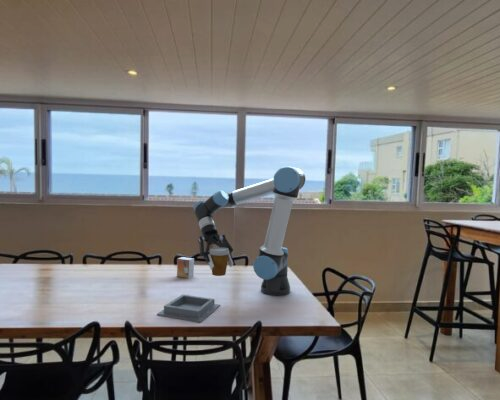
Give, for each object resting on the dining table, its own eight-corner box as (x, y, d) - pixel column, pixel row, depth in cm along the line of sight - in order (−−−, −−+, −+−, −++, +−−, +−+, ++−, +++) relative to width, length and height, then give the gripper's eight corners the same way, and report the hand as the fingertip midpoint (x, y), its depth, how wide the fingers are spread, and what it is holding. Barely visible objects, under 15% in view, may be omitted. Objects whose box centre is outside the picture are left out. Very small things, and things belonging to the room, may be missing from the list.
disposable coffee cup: (232, 273, 171) (233, 248, 170) (222, 278, 162) (223, 252, 161) (215, 270, 175) (215, 246, 174) (204, 275, 166) (205, 249, 165)
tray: (220, 305, 161) (220, 298, 161) (200, 322, 142) (200, 314, 142) (180, 299, 168) (180, 292, 167) (157, 315, 149) (157, 306, 148)
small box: (176, 276, 206) (177, 258, 205) (182, 274, 211) (182, 256, 210) (188, 278, 203) (189, 260, 202) (193, 275, 208) (194, 258, 207)
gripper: (225, 231, 186) (239, 268, 174) (185, 233, 174) (197, 273, 162) (230, 222, 181) (245, 259, 169) (189, 224, 170) (202, 264, 157)
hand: (222, 266), depth 166 cm, fingers closed on disposable coffee cup, 9 cm apart
